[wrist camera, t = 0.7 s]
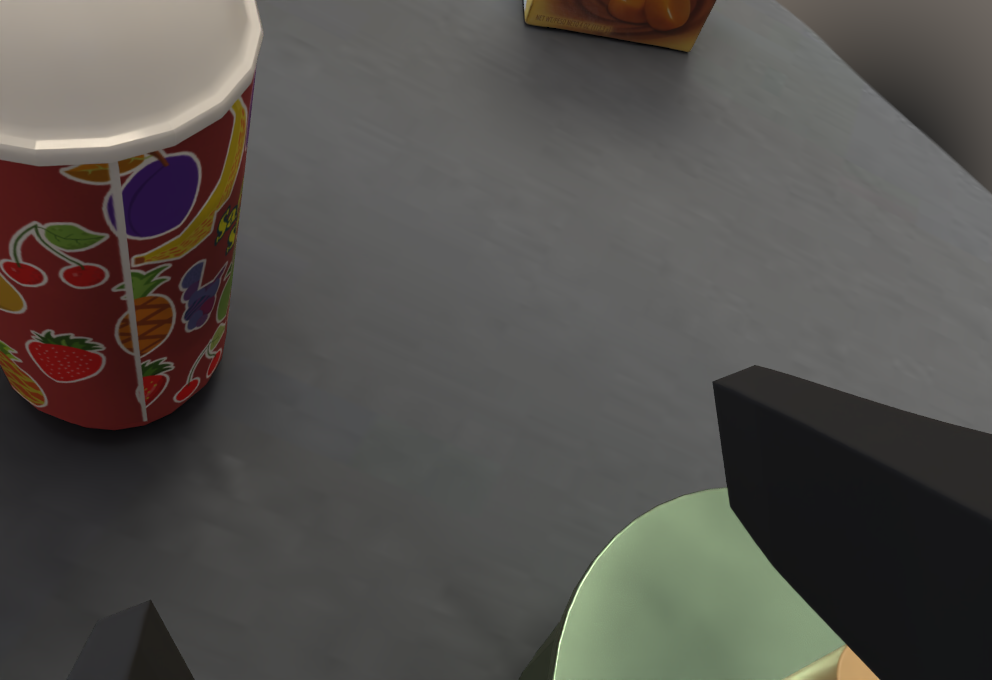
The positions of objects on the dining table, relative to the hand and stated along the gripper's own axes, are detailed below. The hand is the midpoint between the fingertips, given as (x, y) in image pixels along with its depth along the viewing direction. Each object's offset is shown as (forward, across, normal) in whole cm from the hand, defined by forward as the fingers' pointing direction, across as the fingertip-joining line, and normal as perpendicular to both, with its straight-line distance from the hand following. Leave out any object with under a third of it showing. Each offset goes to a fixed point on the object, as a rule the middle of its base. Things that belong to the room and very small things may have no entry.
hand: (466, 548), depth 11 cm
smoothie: (+22, +7, +5) cm, 23 cm away
